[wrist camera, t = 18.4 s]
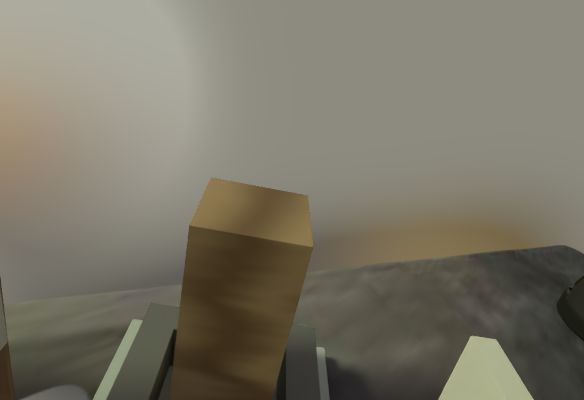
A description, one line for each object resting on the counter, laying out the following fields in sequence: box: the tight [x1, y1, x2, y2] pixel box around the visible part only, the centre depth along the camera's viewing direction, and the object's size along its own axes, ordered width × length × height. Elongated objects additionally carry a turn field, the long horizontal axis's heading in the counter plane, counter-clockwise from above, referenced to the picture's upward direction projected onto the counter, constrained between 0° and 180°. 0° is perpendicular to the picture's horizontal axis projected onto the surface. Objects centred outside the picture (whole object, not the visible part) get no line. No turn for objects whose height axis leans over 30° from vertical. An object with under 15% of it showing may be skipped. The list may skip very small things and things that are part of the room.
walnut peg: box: [169, 178, 313, 400], centre depth 26 cm, size 6×6×18 cm
